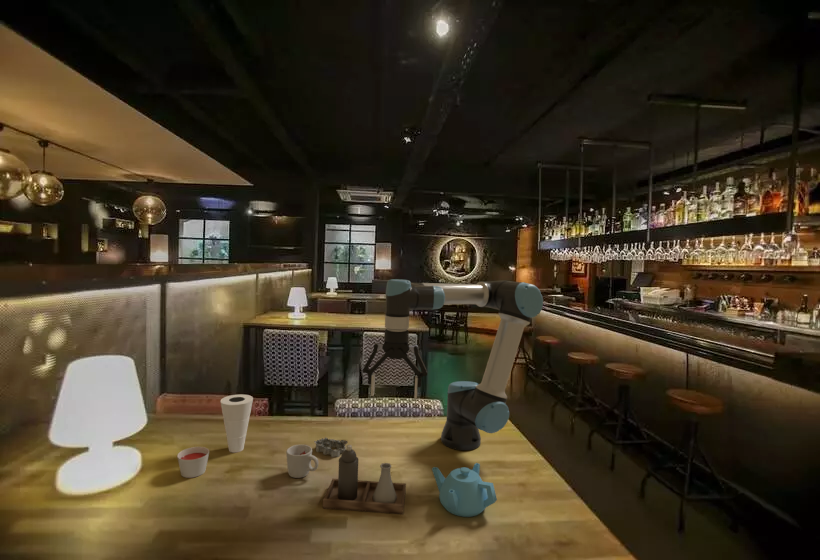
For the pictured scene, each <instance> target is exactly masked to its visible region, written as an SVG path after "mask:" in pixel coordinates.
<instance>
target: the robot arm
mask: <svg viewBox="0 0 820 560" xmlns="http://www.w3.org/2000/svg"><path fill="white" fill-rule="evenodd" d="M541 293H542V292H541V290H540V289H539V288H538V287H537V286H536V285H535V284H532V283H527V282H525V281H523V282H521V281H511V280H493V281H478V282H477V283H474V284H473V283H445V282H444V283H443V282H442V283H441V282H439V283H438V282H437V283H436V282H434V283H433V282H411V281H410V280H408V279H397V278H395V279H389V280H387V282H386V288H385V313H384V315H385V316H384V328H385V329H384V338H383V339H384V340H383V341H384V342H383V344H382V343H381V344H380V343H379V342H375V343H374V345H373V351H372V352H371V354H370V356H369V358H368V360H367V361H366V363H365V364H364V367H362V373H364V374H367V384H368V385H370V397H373V396H374V395H375V389H376V388H375V387H376V385H375V384H376V383H375V382H376V373H375V371H376V370H377V369H378V368H379V367H380V366H381V365H383V363H384V362H385V361H386V360H387V359H388V358H389V359H390V360H394V359H395V360H401V359H403V361H404V362H406V363H407V365H408V366H409V367H410V368H411V370H412V371H413V373H414V374H415V376H414V397H413V398H414V399H417V398H418V388H421V386H422V378H424V377H426V376H428V370H427V368H426V365H425V364H424V361H423V359H422V357H421V354H420V351H419V346H418V344H414V345H410V344H409V333H410V332H409V328H410V312H411V311H414V310H415V311H416V310H419V311H420V310H421V311H422V310H432V311H433V310H438V309H441V308H443V306H444V305H476V306H477V307H480V308H491V309H494V310H498V313H497V314H498V316H499V318H500V321H499V324H498V328H497V331H496V334H495V338H494V341H493V344H492V347H491V350H490V354H489V358H488V359H487V363H486V366H485V371H484V374H483V376H482V380H481V382H480V383H478V382H475V381H469V380H468V381H467V380H466V381H465V380H460V381H459V380H458V381H453V382H451V383H449V384H448V387H447V401H446V402H447V404H446V421H445V424H444V426H443V428H442V431H441V435H440V441H441V443H442V444H443V445H444V446H446V447H447V448H449V449H452V450H457V451H471V450H475V449H478V448H479V447H481V444H482V443H481V442H482V441H481V440H482V437H481V433H480V431H483V432H484V433H487V434H495V433H497V432H499V431H501V430H502V429H503V428H504V427H505V426H506V425H507V423H508V421H509V418H510V411H509V407H508V405H507V400H508V396H507V394H506V388H507V385H508V382H509V378H510V375H511V372H512V369H513V365H514V362H515V358H516V356H517V352H518V349H519V346H520V342H521V339H522V337H523V333H524V329H525V327H527V326H528V325H530V324H531V321H532V319H533V318H535V317H537V316H538V315H540V314H541V312H542V310H543V306H544V305H543V304H544V298H543V295H542V294H541ZM381 349H382V350H383V352H384V353H383V354H382V356H381V357H380V358H379V359H378V360H377V361H376V362H375V363H374V364H373V366H372V367H371V368H369V367H370V365H371V364H372V362H373V360H374V358H375V356H376V354H377V352H379V351H380V350H381ZM409 351H411V353H413V354H414V357H415V359H416V361H417V363H418V366H419V368H420V369H419V368H418V367H417V365H416V364H415V363H414V362H413V360H412V359H411V357H410V356H409V355H408V352H409Z"/></svg>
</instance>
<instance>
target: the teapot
mask: <svg viewBox="0 0 820 560" xmlns="http://www.w3.org/2000/svg"><path fill="white" fill-rule="evenodd" d="M480 469H481V464H480V463H479V462H476V463H474V465H473V467H472V468H471V469H470V468H469V467H464V466H463V467H458V468H454V469H453V470H451V471H450V473H449V474H448V475H446V477H445V476H444V474H443V473H442V472H441V470H440V469H439V467H435V466H433V467H432V468H431V471H432V474H433V476H434V477H433V478H434V479H435V482H436V486H437V489H438V492H439V496H438V497H439V501H440V503H441V505H442V506H443V508H444V509H445V510H446V511H447V512H449V513H450V514H452V515H454V516H457V517H461V518H462V517H464V518H470V517H476V516H478V515H480V514H481V513H483V512H484V510H485V509H486V508H487V507H489V506H492V505H493V504H495V503H496V502H497V501H498V498H497V493H496V489H495V487H494V482H489V481H483V479H482V478H481V476H480V471H481V470H480Z"/></svg>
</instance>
